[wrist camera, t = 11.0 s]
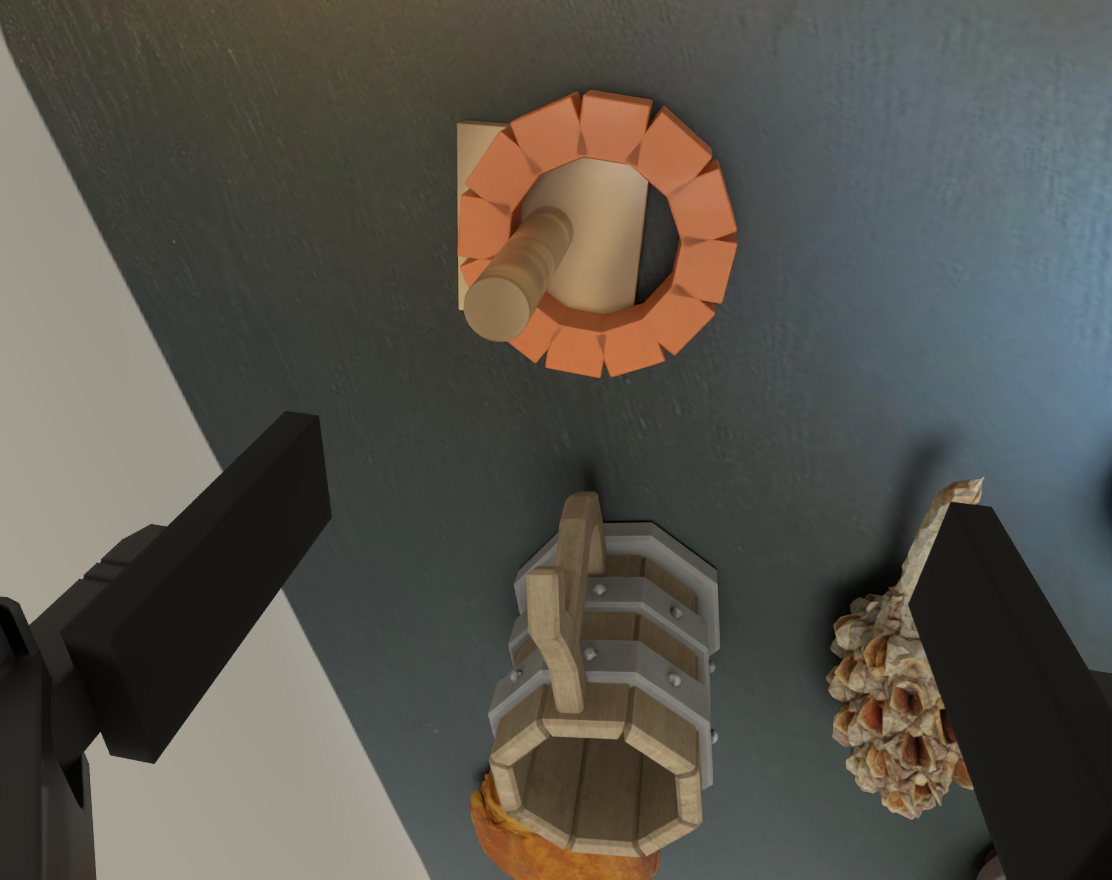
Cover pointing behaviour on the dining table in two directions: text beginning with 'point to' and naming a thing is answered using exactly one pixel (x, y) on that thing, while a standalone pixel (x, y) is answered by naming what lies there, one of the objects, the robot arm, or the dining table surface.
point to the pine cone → (897, 687)
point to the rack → (556, 241)
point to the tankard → (608, 688)
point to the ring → (662, 159)
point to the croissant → (544, 848)
